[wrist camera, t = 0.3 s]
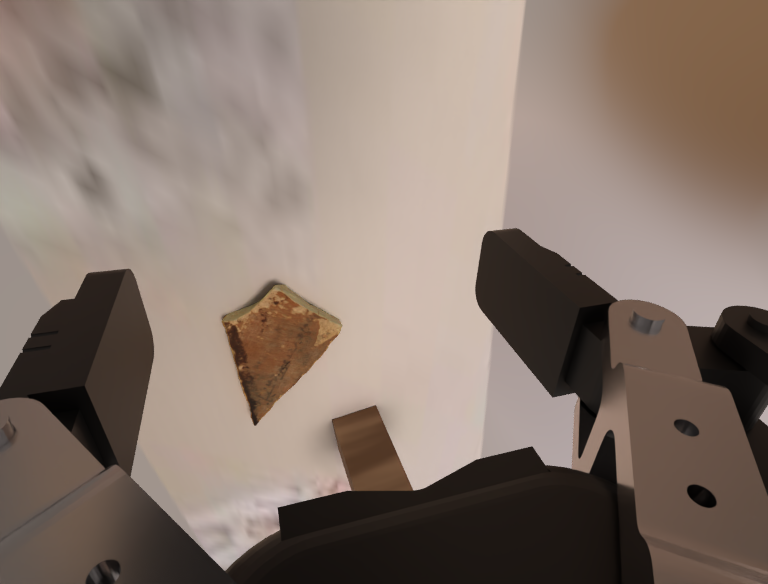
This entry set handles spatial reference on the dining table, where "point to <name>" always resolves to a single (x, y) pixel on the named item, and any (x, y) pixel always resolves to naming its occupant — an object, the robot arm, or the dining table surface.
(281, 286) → the shard
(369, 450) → the pillar
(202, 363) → the dining table surface
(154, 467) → the dining table surface
